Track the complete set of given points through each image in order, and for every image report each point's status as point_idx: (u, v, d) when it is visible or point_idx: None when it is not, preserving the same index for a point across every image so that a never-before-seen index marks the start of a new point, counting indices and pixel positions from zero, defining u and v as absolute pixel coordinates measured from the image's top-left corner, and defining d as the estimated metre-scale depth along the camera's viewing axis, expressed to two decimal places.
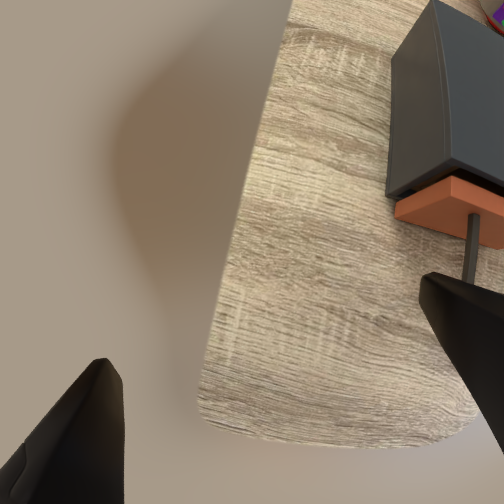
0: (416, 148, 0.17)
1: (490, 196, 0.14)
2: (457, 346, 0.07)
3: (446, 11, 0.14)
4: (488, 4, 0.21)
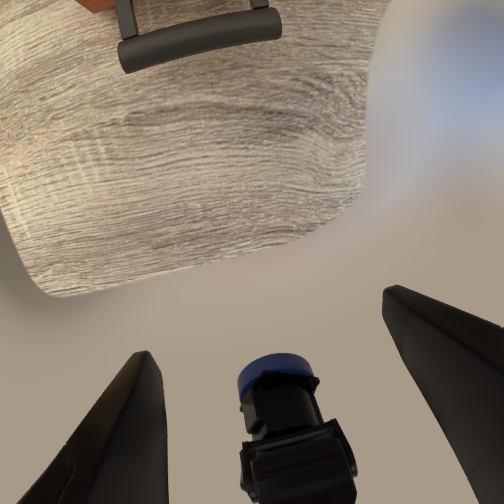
0: None
1: None
2: (418, 364, 0.07)
3: None
4: None
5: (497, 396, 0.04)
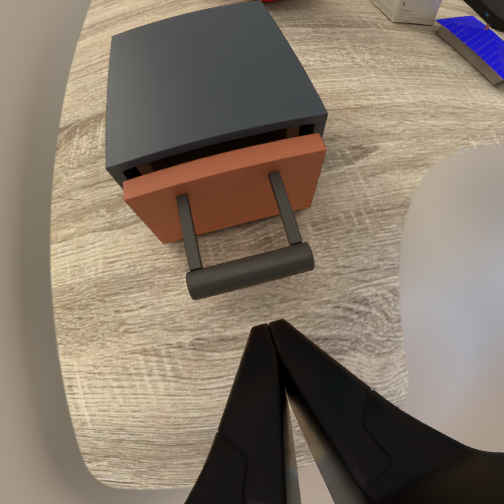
0: None
1: (176, 169, 0.16)
2: (294, 408, 0.07)
3: (123, 37, 0.19)
4: None
5: (341, 472, 0.04)
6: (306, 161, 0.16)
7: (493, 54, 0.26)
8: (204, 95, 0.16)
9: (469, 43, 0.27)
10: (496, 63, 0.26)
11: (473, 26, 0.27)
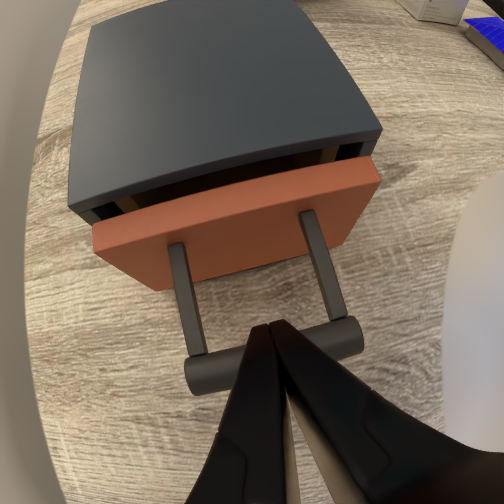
0: None
1: (166, 208, 0.11)
2: (294, 408, 0.07)
3: (104, 26, 0.14)
4: None
5: (341, 472, 0.04)
6: (351, 195, 0.12)
7: None
8: (207, 97, 0.11)
9: (500, 47, 0.22)
10: None
11: (502, 28, 0.22)
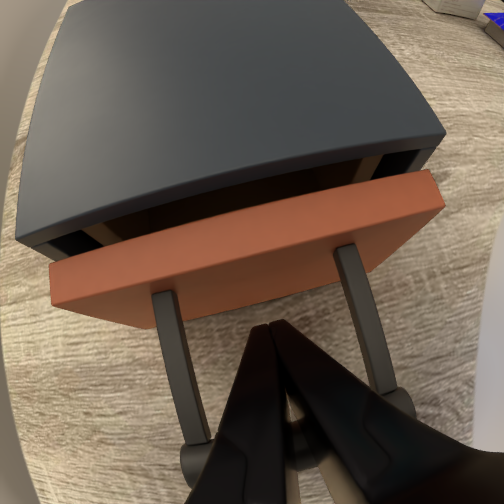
0: None
1: (147, 245, 0.07)
2: (294, 408, 0.07)
3: (83, 6, 0.10)
4: None
5: (340, 472, 0.04)
6: (406, 225, 0.08)
7: None
8: (205, 82, 0.08)
9: None
10: None
11: None
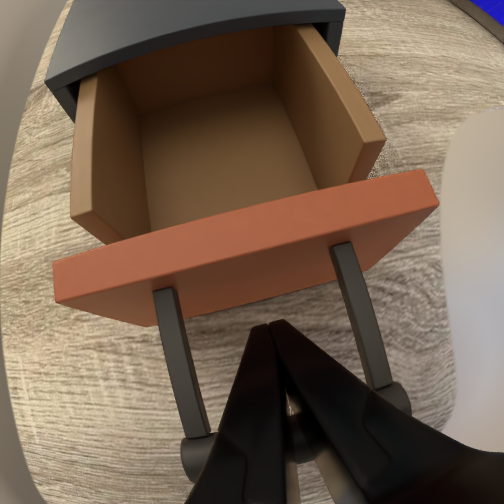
0: None
1: (148, 243, 0.08)
2: (294, 408, 0.07)
3: None
4: None
5: (340, 472, 0.04)
6: (400, 223, 0.08)
7: None
8: None
9: (485, 8, 0.21)
10: None
11: None
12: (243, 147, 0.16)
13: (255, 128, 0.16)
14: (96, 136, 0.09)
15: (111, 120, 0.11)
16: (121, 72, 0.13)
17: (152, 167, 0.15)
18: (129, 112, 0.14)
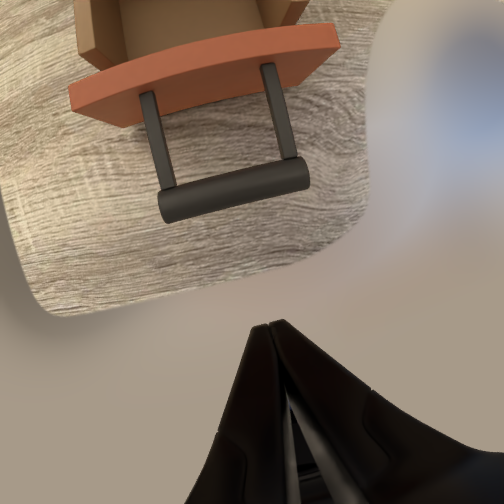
0: None
1: (138, 64, 0.10)
2: (294, 408, 0.07)
3: None
4: None
5: (340, 473, 0.04)
6: (311, 54, 0.11)
7: None
8: None
9: None
10: None
11: None
12: None
13: None
14: None
15: None
16: None
17: (127, 8, 0.14)
18: None
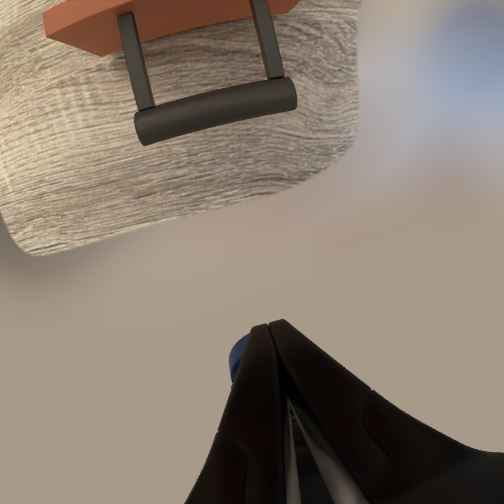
0: None
1: None
2: (294, 408, 0.07)
3: None
4: None
5: (340, 473, 0.04)
6: None
7: None
8: None
9: None
10: None
11: None
12: None
13: None
14: None
15: None
16: None
17: None
18: None
